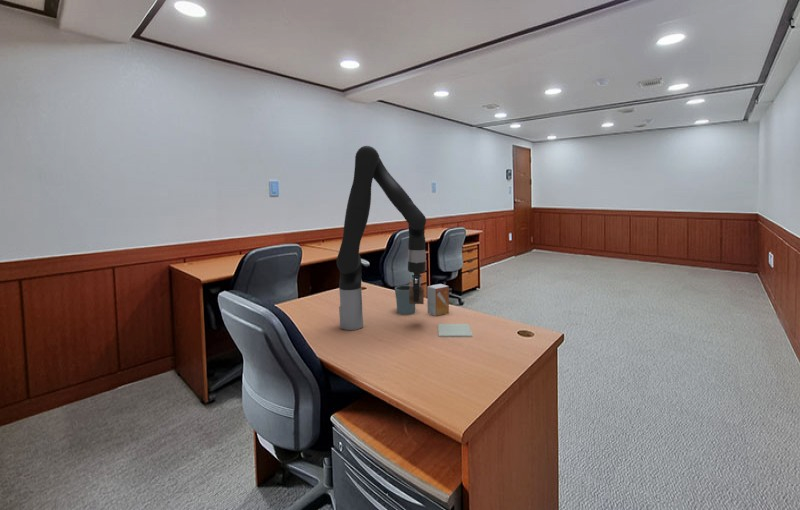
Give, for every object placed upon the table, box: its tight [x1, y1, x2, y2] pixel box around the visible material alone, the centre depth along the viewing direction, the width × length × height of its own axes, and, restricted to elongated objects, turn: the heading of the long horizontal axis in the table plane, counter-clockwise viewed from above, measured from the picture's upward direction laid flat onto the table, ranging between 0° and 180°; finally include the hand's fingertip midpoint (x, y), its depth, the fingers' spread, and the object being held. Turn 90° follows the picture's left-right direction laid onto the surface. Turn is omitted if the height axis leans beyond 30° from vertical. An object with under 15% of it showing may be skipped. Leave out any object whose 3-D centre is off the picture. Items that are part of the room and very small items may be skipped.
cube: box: [409, 285, 425, 305], centre depth 160 cm, size 6×6×6 cm
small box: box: [426, 283, 450, 317], centre depth 176 cm, size 8×6×13 cm
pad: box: [437, 323, 473, 338], centre depth 154 cm, size 13×13×1 cm
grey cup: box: [394, 284, 416, 316], centre depth 179 cm, size 10×10×12 cm
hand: (416, 299), depth 160 cm, fingers closed on cube, 6 cm apart
